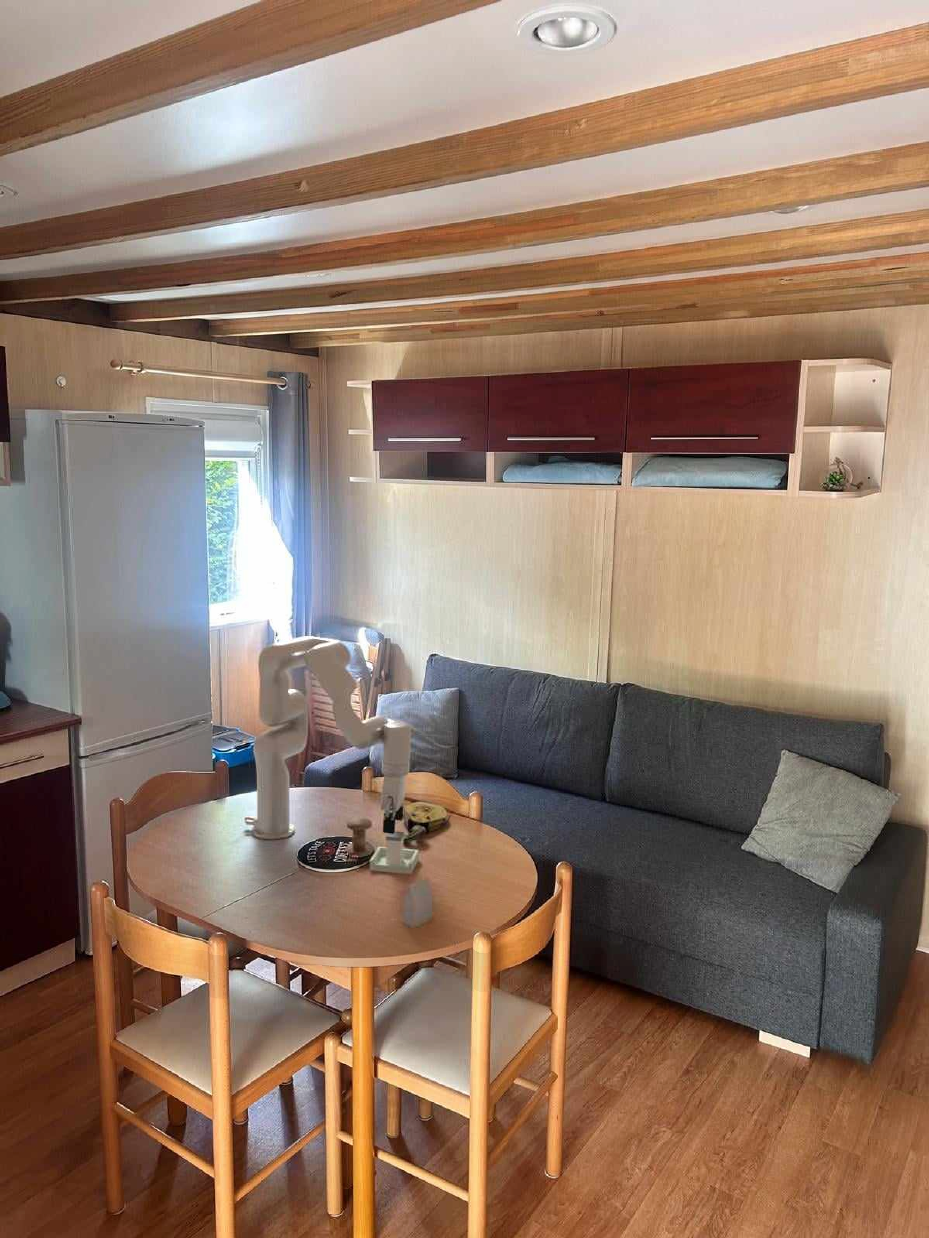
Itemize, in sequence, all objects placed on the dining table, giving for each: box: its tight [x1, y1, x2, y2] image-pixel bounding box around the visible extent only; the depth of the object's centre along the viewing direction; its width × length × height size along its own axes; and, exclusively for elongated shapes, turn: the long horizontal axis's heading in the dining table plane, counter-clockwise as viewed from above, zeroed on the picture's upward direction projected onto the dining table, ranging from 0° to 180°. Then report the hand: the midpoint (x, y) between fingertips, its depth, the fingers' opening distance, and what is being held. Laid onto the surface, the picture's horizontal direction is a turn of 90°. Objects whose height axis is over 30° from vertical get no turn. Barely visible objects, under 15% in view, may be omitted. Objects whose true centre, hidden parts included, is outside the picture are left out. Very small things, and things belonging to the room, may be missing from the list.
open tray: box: [369, 846, 420, 875], centre depth 263 cm, size 12×10×3 cm
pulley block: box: [402, 799, 450, 844], centre depth 290 cm, size 14×6×30 cm
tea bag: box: [402, 877, 434, 928], centre depth 231 cm, size 4×7×10 cm, turn 140°
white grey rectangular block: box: [385, 830, 405, 865], centre depth 262 cm, size 4×4×8 cm
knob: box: [344, 817, 374, 856], centre depth 271 cm, size 8×8×9 cm
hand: (392, 826), depth 262 cm, fingers open, 9 cm apart
